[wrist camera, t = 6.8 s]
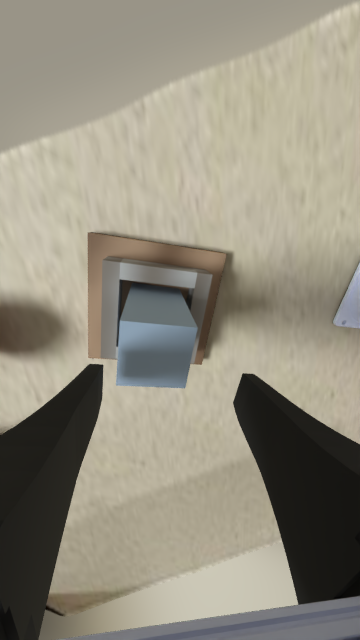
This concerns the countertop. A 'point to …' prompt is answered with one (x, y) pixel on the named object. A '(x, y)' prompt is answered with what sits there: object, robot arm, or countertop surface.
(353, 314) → the robot arm
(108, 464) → the countertop surface
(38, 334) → the countertop surface
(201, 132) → the countertop surface
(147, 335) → the peg
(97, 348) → the socket board
